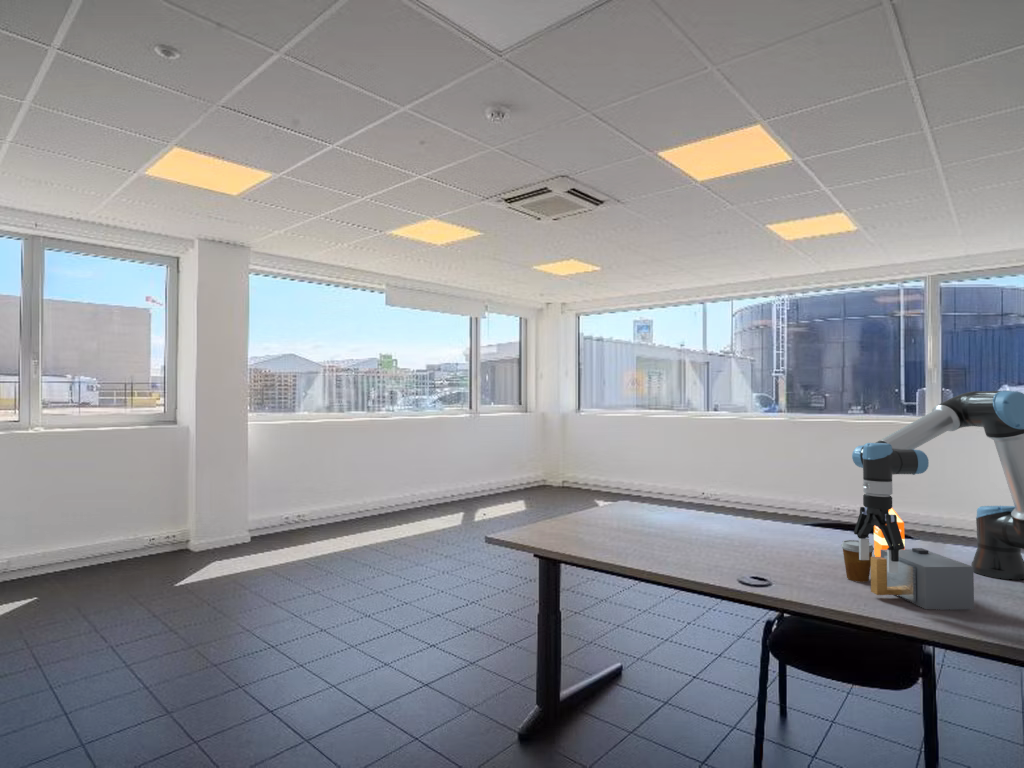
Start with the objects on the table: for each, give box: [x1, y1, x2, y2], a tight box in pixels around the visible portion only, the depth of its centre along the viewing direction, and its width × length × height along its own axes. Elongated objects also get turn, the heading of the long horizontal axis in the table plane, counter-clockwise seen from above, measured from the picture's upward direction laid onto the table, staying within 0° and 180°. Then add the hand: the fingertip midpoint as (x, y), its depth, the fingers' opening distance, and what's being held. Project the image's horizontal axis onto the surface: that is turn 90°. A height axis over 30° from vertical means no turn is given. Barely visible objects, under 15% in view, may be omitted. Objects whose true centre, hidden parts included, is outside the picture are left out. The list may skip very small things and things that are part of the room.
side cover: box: [870, 556, 916, 602], centre depth 182 cm, size 8×13×11 cm, turn 1°
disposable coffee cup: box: [840, 539, 874, 583], centre depth 201 cm, size 10×10×12 cm
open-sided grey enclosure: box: [880, 547, 975, 611], centre depth 182 cm, size 14×20×13 cm
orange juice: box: [873, 507, 906, 557], centre depth 227 cm, size 8×9×20 cm
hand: (877, 565), depth 182 cm, fingers open, 13 cm apart
